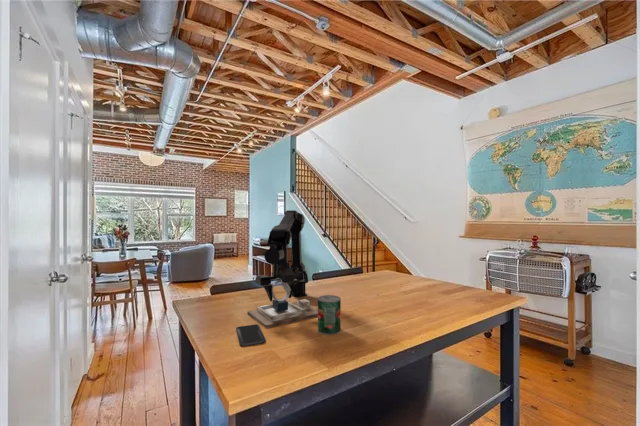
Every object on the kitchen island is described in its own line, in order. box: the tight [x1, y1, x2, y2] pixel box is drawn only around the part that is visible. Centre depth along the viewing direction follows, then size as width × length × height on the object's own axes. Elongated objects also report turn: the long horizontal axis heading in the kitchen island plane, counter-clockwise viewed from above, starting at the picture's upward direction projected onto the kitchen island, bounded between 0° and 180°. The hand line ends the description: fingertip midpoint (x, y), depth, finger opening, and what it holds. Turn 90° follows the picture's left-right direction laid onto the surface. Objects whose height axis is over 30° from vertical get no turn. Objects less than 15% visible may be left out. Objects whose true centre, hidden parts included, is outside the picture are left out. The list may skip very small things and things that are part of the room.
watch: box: [271, 280, 291, 312], centre depth 118 cm, size 6×8×11 cm
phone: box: [235, 324, 267, 348], centre depth 99 cm, size 8×1×15 cm
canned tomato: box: [317, 294, 342, 336], centre depth 103 cm, size 8×8×11 cm
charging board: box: [247, 298, 318, 329], centre depth 119 cm, size 24×18×4 cm
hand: (280, 299), depth 118 cm, fingers closed on watch, 8 cm apart
